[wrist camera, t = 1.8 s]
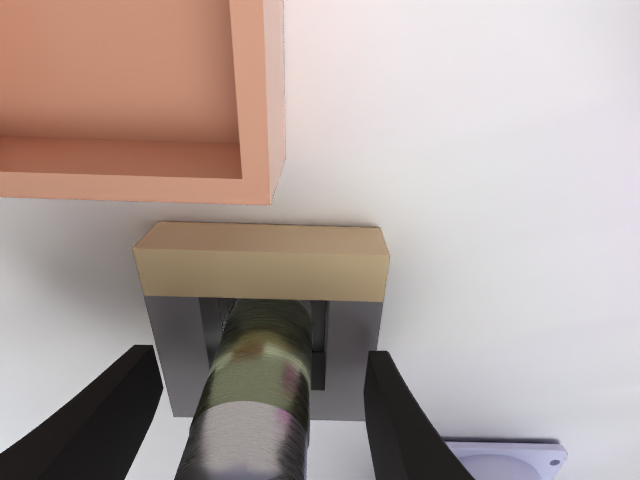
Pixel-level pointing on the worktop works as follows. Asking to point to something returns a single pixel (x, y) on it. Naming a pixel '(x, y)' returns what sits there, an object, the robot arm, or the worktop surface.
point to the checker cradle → (264, 283)
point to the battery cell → (255, 397)
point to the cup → (142, 100)
